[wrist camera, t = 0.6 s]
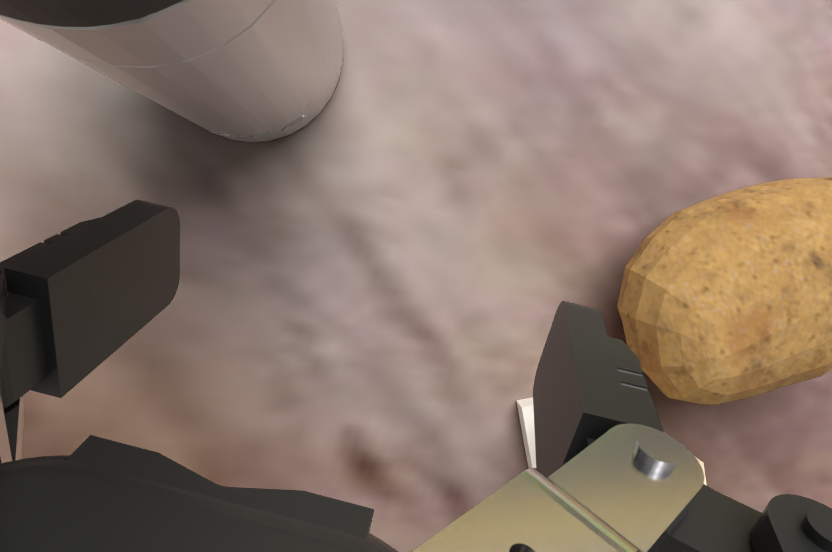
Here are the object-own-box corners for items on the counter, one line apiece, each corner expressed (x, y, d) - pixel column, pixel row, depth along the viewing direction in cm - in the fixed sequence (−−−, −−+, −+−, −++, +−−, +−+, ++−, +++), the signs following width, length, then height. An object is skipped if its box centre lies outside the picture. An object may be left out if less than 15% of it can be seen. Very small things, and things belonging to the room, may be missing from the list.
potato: (854, 295, 32) (1010, 319, 24) (631, 413, 32) (714, 476, 24) (786, 136, 31) (925, 106, 23) (554, 257, 31) (615, 269, 23)
